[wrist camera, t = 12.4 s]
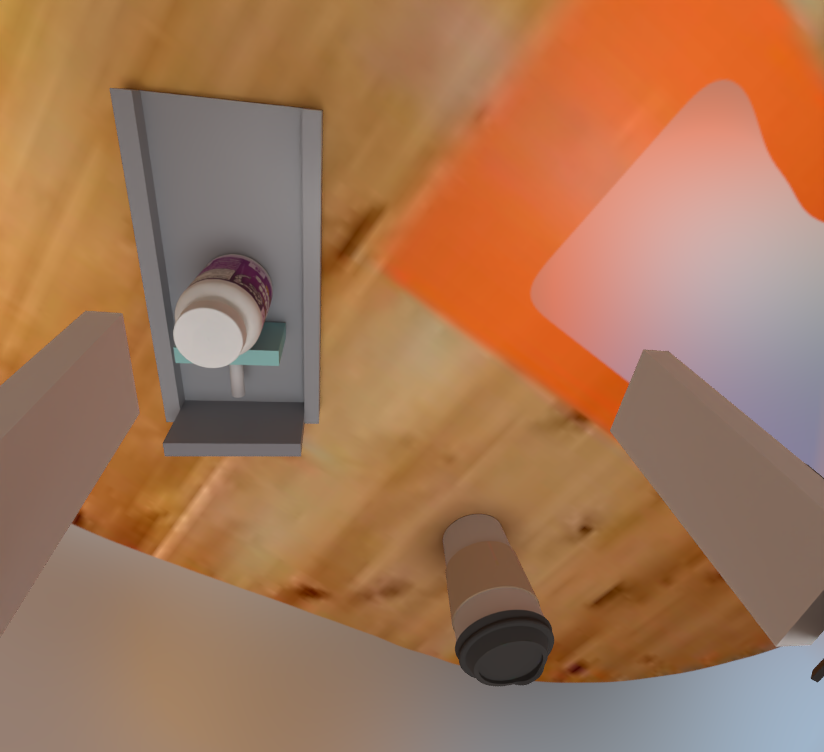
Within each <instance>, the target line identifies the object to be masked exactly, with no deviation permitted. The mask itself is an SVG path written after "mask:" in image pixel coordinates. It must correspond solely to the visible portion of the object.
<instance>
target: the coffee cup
mask: <svg viewBox="0 0 824 752" xmlns="http://www.w3.org/2000/svg"><path fill="white" fill-rule="evenodd" d="M443 546H444V554H445V561H446V580H447V588H448V596H449V604H450V611H451V619H452V626H453V629H454V631H455V635H456V645H455V652H456V655H457V657H458V659H459V663H460V666H461V668H462V669H463V670H464V672H465V673H467V674H468V675H470V676H471V677H474V678H476V679H477V680H478V681H480V682H481V683H483V684H486V685H491V686H506V685H512V684H515V685H527V684H529V683H531V682H533V681H535V680H536V679H537V678H539V677H540V676H541V674H542V672H543V669H544V666H545V663H546V661H547V657H548V655H549V654H550V652H551V650H552V648H553V644H554V636H553V633H552V627H551V625H550V623H549V621H548V620H547V619H546V618H545V617H544V615H543V613H542V611H541V609H540V605H539V601H538V599H537V597H536V595H535V593H534V591H533V589H532V587H531V585H530V583H529V580H528V578H527V576H526V574H525V572H524V570H523V568H522V566H521V564H520V562H519V560H518V558H517V555H516V553H515V552H514V550H513V549H512V548H511V546H510V544H509V542H508V540H507V537H506V535H505V533H504V531H503V529H502V527H501V525H500V523H499V522H498V521H497V520H496V519H495V518H493V517H491V516H489V515H484V514H473V515H468V516H465V517H462V518H460V519H458V520H456V521H455V522H454V523H452V524H451V525H450V526H449V527H448V528H447V530H446V531H445V533H444V536H443Z"/></svg>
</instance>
